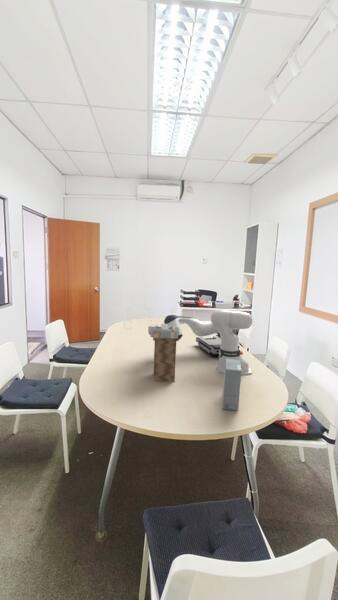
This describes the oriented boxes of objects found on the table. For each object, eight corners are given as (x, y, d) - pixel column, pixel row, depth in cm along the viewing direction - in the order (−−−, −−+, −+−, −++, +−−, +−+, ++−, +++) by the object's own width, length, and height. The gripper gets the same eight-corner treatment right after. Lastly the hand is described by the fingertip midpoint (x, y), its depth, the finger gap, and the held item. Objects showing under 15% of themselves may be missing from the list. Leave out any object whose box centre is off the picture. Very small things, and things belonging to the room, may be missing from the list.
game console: (217, 344, 239) (218, 334, 238) (238, 356, 209) (239, 346, 208) (195, 345, 232) (196, 335, 231) (213, 358, 202) (214, 347, 201)
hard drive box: (238, 411, 132) (241, 371, 129) (221, 409, 133) (224, 369, 130) (237, 396, 147) (240, 359, 144) (222, 394, 148) (224, 358, 145)
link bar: (169, 328, 178) (169, 321, 177) (171, 338, 156) (171, 330, 156) (159, 328, 178) (159, 321, 177) (160, 338, 156) (160, 330, 155)
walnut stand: (174, 373, 173) (176, 332, 169) (176, 382, 160) (178, 338, 156) (151, 373, 172) (153, 331, 168) (151, 382, 159) (153, 337, 156)
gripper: (178, 337, 186) (181, 332, 174) (148, 337, 185) (148, 331, 172) (178, 328, 189) (181, 322, 176) (148, 327, 187) (148, 321, 175)
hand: (164, 327), depth 174 cm, fingers open, 8 cm apart
